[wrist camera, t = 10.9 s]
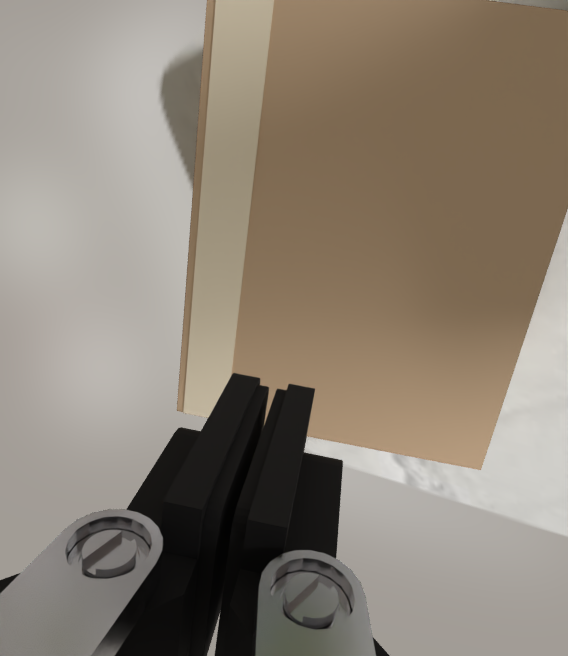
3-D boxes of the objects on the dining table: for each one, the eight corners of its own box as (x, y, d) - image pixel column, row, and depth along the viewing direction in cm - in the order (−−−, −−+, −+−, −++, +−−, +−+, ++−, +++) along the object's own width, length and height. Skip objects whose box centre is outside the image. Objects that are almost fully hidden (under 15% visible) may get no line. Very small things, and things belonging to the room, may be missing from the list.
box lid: (216, -29, 22) (209, -36, 21) (619, 23, 21) (632, 18, 20) (182, 402, 30) (176, 411, 29) (476, 459, 29) (481, 471, 28)
